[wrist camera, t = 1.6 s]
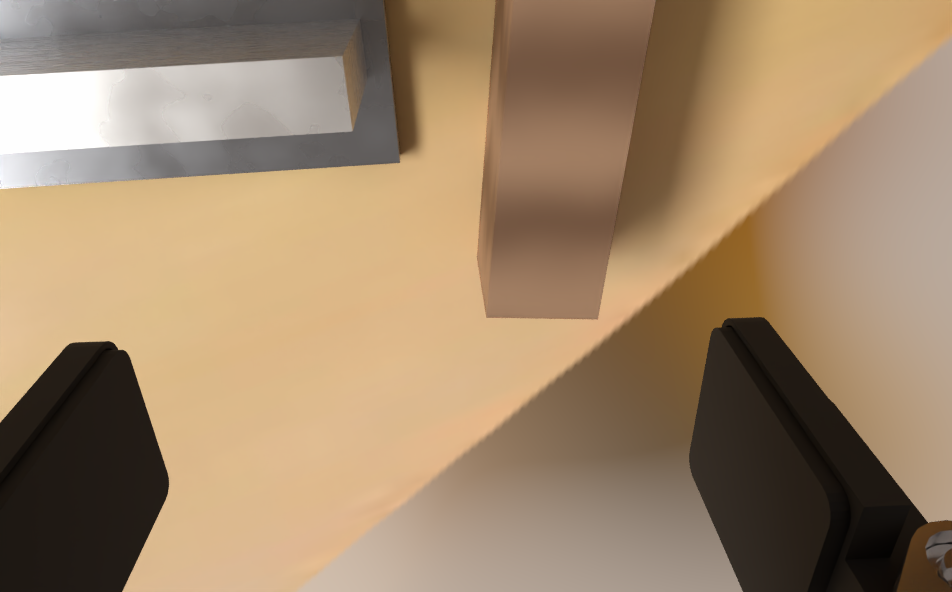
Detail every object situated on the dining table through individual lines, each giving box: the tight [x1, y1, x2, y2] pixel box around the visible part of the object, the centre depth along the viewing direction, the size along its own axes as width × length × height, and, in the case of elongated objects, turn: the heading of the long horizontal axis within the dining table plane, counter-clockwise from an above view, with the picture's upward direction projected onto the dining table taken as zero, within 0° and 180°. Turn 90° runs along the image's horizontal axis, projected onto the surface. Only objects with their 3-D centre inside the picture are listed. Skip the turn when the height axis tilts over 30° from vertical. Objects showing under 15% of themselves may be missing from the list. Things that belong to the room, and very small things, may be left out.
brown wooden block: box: [477, 0, 656, 319], centre depth 27 cm, size 22×5×6 cm, turn 176°
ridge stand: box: [0, 0, 400, 189], centre depth 25 cm, size 10×18×8 cm, turn 92°
